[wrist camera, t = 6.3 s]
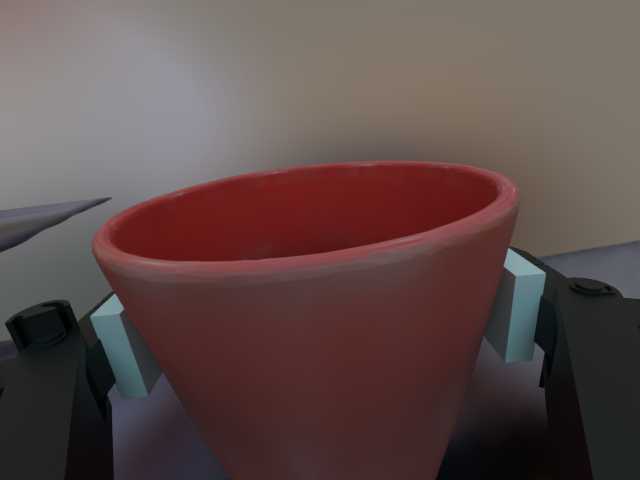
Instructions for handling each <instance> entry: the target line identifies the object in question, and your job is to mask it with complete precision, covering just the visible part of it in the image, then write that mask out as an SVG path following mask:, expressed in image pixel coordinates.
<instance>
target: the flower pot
mask: <svg viewBox="0 0 640 480" xmlns="http://www.w3.org/2000/svg"><path fill="white" fill-rule="evenodd" d="M519 204H520V192H519V189H518V187H517V185H516V184H515V183H514V182H513V181H512V180H510V179H509V178H507V177H506V176H504V175H502V174H500V173H496V172H493V171H490V170H486V169H482V168H478V167H472V166H467V165H459V164H450V163H439V162H424V161H366V162H346V163H330V164H318V165H307V166H298V167H289V168H283V169H275V170H270V171H263V172H257V173H250V174H245V175H239V176H233V177H228V178H224V179H220V180H216V181H212V182H208V183H204V184H200V185H196V186H192V187H189V188H185V189H181V190H178V191H175V192H172V193H169V194H166V195H162V196H159V197H156V198H153V199H151V200H148V201H145V202H142V203H140V204H137V205H135V206H132V207H130V208H128V209H126V210H124V211H122V212H121V213H119V214H117V215H115V216H114V217H112V218H111V219H110V220H108V221H107V222H106V223H104V224H103V225H102V226H101V227H100V229H99V230H98V231H97V232H96V233H95V235H94V237H93V240H92V252H93V255H94V257H95V259H96V261H97V263H98V265H99V267H100V268H101V270H102V272H103V274H104V275H105V277H106V279H107V280H108V282H109V284H110V286H111V287H112V289H113V291H114V292H115V294H116V296H117V297H118V299H119V301H120V303H121V304H122V306H123V308H124V309H125V311H126V313H127V314H128V316H129V318H130V319H131V321H132V322H133V324H134V326H135V327H136V329H137V330H138V332H139V334H140V335H141V337H142V338H143V340H144V341H145V343H146V345H147V346H148V348H149V349H150V351H151V353H152V354H153V356H154V357H155V359H156V361H157V362H158V364H159V366H160V368H161V369H162V371H163V373H164V374H165V376H166V378H167V380H168V381H169V383H170V385H171V386H172V388H173V390H174V391H175V393H176V395H177V396H178V398H179V400H180V401H181V403H182V405H183V406H184V408H185V410H186V411H187V413H188V415H189V416H190V418H191V419H192V421H193V423H194V424H195V426H196V427H197V429H198V431H199V432H200V434H201V435H202V437H203V439H204V440H205V442H206V443H207V444H208V446H209V447H210V449H211V450H212V452H213V453H214V455H215V456H216V458H217V460H218V461H219V463H220V465H221V466H222V468H223V469H224V471H225V472H226V474H227V475H228V477H229V478H230V480H435V479H436V477H437V474H438V471H439V468H440V465H441V462H442V460H443V457H444V454H445V451H446V448H447V446H448V443H449V440H450V437H451V435H452V432H453V429H454V426H455V424H456V421H457V418H458V415H459V412H460V409H461V406H462V403H463V400H464V397H465V394H466V391H467V388H468V385H469V382H470V379H471V376H472V372H473V369H474V365H475V362H476V359H477V355H478V352H479V349H480V346H481V342H482V339H483V335H484V332H485V329H486V325H487V322H488V318H489V315H490V311H491V308H492V305H493V301H494V298H495V295H496V292H497V288H498V285H499V282H500V278H501V274H502V270H503V267H504V263H505V259H506V255H507V252H508V248H509V244H510V241H511V237H512V234H513V230H514V226H515V223H516V218H517V214H518V209H519Z"/></svg>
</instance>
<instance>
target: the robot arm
mask: <svg viewBox="0 0 640 480" xmlns="http://www.w3.org/2000/svg"><path fill="white" fill-rule="evenodd" d="M5 325H6V327H7V329H8V331H9V333H10V335H11V337H12V339H13V341H14V343H15V345H16V347H17V349H18V351H19V352H18V355H17V357H16V358H12V359H9V360H5V361H1V362H0V480H114V468H113V436H112V405H111V403H110V400H109V398H108V396H107V393H108V392H109V390H110V389H111V388H112V386H113V385H114V384H115V382H116V385H117V387H118V390H119V392H120V395H121V398H133V397H143V396H149V394H150V392H151V391H152V389H153V387H154V385H155V384H156V382H157V380H158V378H159V377H160V375H161V373H162V369H161V368H160V366H159V364H158V362H157V361H156V359H155V357H154V356H153V354H152V353H151V351H150V349H149V348H148V346H147V345H146V343H145V341H144V340H143V338H142V337H141V335H140V334H139V332H138V330H137V329H136V327H135V326H134V324H133V322H132V321H131V319H130V318H129V316H128V314H127V313H126V311H125V309H124V308H123V306H122V304H121V303H120V301H119V299H118V297H117V296H116V294H115V292H114V291H113V292H111V293H110V294H109V295H107V296H106V297H105V298H104V299H103V300H102V301H101V303H98V304H97V305H96V306H95V307H94V309H93V310H91V311H90V312H89V313H87V314H86V315H85V316H84V317H83V318H82V319H81V320H79V321H78V322H77V320H76V318H75V315H74V313H73V310H72V308H71V306H70V303H69V301H66V300H53V301H49V302H44V303H41V304H38V305H35V306H32V307H29V308H27V309H25V310H23V311H21V312H19V313H17V314H16V315H14V316H12V317H11V318H9V320H8V321H7V322H6V323H5ZM484 336H485V338H486V339H487V340H488V342H489V343H490V344H491V345H492V347H493V348H494V349H495V350H496V352H497V353H498V354H499V356H500V357H501V358H502V359H503V361H504V362H505V363H508V362H519V361H530V360H532V357H533V351H534V345H535V342H536V343H537V344H538V345H539V346H540V347H541V348H542V350H543V351H544V352H545V354H544V360H543V366H542V372H541V377H540V383H539V387H541V388H544V387H545V399H546V411H547V423H548V436H549V448H550V460H551V472H552V480H640V299H631V298H623V296H622V294H621V293H620V292H619V291H618V290H617V289H616V288H614V287H612V286H610V285H608V284H606V283H603V282H600V281H597V280H592V279H586V278H567V277H565V276H563V275H562V274H560V273H559V272H557V271H556V270H554V269H552V268H551V267H549V266H548V265H545V263H543V262H541V261H540V260H537V259H536V258H535V257H534V256H532V255H531V254H529V253H527V252H526V251H523V250H520V249H517V248H514V247H509V248H508V252H507V255H506V259H505V263H504V267H503V270H502V274H501V278H500V282H499V285H498V288H497V292H496V295H495V298H494V301H493V305H492V308H491V311H490V315H489V318H488V322H487V325H486V329H485V332H484Z"/></svg>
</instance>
